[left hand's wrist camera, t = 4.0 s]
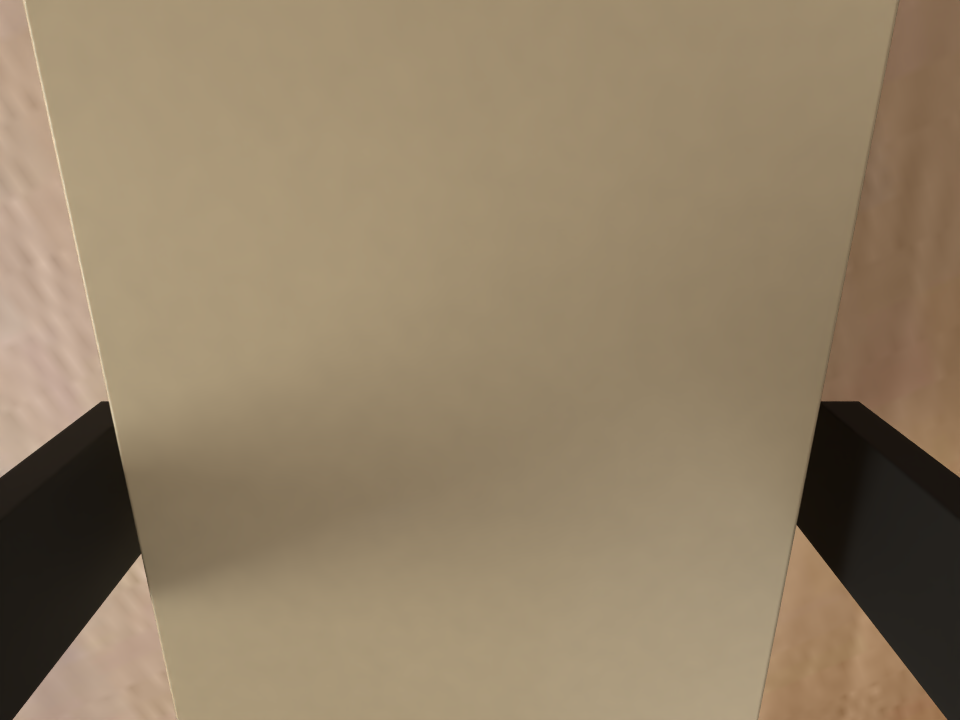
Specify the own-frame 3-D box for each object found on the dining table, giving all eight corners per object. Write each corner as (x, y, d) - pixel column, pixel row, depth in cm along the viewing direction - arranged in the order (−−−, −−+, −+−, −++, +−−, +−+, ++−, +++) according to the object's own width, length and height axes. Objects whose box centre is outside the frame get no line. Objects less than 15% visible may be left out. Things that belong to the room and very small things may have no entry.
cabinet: (209, -406, 14) (-276, -1375, 5) (722, -402, 14) (1168, -1345, 5) (302, 472, 21) (177, 729, 12) (638, 471, 21) (759, 724, 12)
